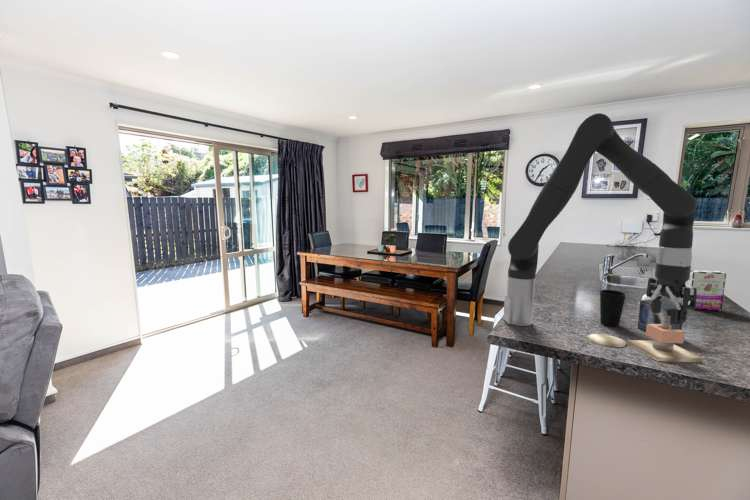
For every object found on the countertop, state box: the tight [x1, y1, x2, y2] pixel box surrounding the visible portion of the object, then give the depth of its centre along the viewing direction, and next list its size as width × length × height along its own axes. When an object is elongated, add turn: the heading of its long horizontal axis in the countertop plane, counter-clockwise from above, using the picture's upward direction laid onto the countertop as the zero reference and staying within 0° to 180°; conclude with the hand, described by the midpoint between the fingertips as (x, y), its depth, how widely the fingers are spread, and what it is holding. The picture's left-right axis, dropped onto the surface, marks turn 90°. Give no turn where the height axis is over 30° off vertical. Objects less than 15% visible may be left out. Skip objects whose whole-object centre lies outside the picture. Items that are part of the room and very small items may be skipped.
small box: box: [637, 299, 683, 332], centre depth 114 cm, size 11×6×10 cm, turn 5°
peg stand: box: [626, 315, 703, 363], centre depth 98 cm, size 12×12×11 cm
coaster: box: [588, 333, 627, 348], centre depth 108 cm, size 10×10×1 cm
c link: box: [645, 324, 685, 344], centre depth 98 cm, size 6×6×4 cm
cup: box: [599, 289, 627, 328], centre depth 122 cm, size 8×8×12 cm
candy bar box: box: [685, 269, 727, 311], centre depth 141 cm, size 11×5×16 cm, turn 73°
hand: (667, 317), depth 98 cm, fingers open, 8 cm apart
